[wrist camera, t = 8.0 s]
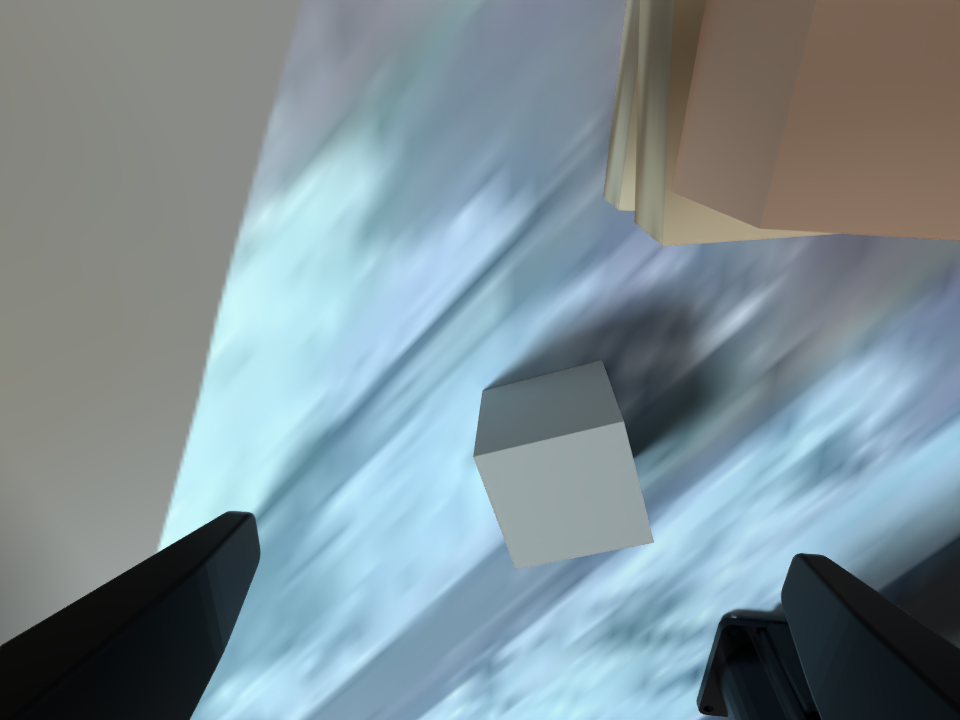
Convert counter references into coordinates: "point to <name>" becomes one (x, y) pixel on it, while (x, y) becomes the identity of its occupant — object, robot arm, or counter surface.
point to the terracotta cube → (827, 116)
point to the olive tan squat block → (625, 118)
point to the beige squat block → (674, 131)
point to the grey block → (560, 467)
